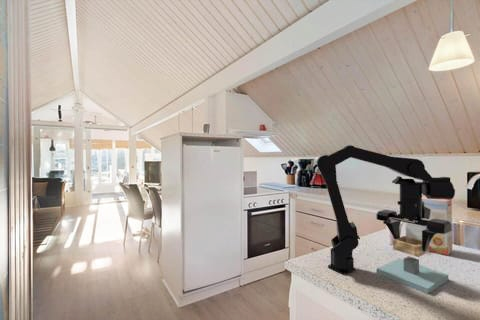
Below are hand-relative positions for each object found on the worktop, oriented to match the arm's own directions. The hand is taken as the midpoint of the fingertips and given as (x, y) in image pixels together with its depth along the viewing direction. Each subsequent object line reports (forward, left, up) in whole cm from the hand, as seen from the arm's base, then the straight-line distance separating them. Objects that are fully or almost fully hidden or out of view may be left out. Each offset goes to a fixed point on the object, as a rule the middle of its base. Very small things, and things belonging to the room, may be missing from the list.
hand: (410, 247), depth 75 cm
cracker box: (-7, +30, -9) cm, 32 cm away
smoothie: (-17, +24, -9) cm, 31 cm away
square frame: (0, 0, -1) cm, 1 cm away
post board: (0, 0, -9) cm, 9 cm away
